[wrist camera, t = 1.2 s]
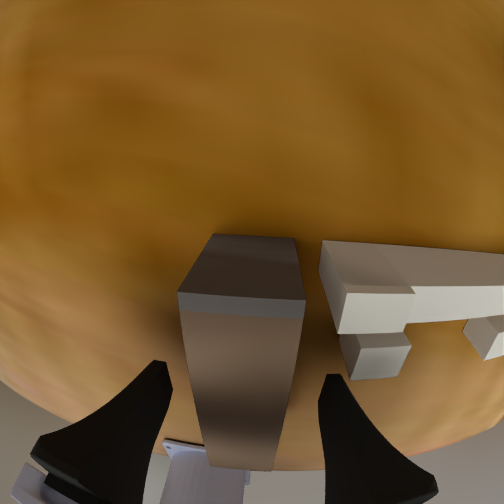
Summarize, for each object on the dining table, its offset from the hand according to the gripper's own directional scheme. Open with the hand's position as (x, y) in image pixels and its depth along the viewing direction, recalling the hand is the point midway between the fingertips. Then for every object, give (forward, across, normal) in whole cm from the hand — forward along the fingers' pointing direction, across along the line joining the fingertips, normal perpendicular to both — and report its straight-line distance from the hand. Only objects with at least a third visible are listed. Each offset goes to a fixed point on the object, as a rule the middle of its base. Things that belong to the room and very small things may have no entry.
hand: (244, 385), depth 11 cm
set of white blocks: (+3, -11, -3) cm, 11 cm away
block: (+3, 0, 0) cm, 3 cm away
